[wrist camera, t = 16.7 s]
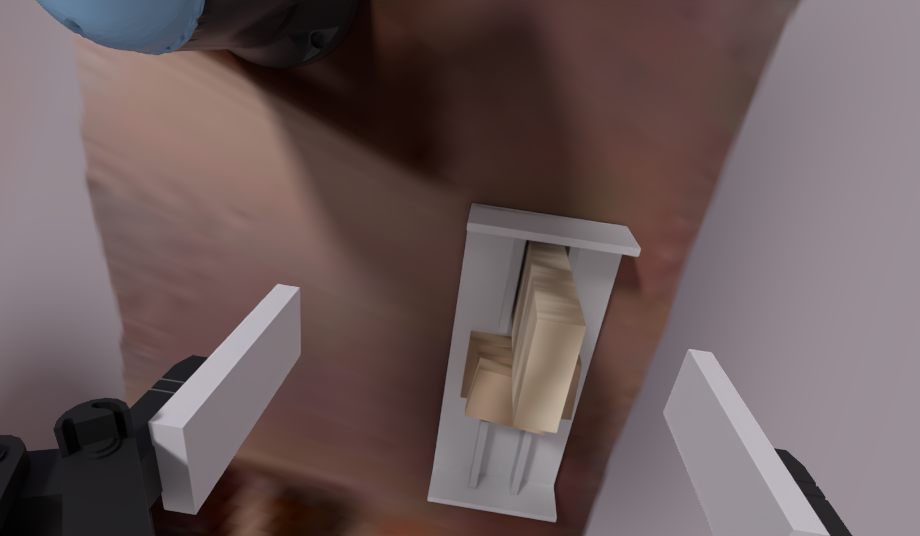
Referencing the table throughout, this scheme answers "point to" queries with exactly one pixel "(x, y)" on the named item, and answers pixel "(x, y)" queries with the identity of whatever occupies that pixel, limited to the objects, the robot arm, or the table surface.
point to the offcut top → (493, 394)
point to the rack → (490, 311)
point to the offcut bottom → (472, 354)
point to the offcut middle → (506, 357)
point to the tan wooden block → (544, 336)
